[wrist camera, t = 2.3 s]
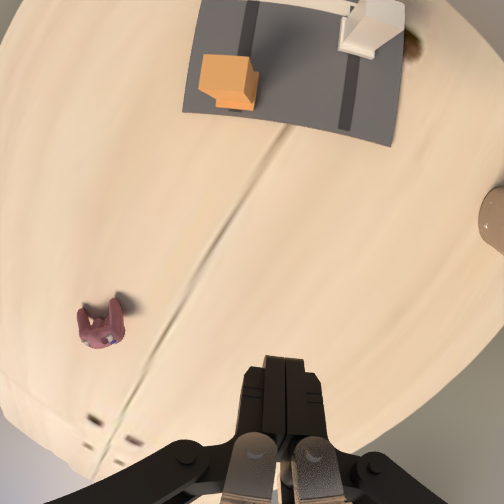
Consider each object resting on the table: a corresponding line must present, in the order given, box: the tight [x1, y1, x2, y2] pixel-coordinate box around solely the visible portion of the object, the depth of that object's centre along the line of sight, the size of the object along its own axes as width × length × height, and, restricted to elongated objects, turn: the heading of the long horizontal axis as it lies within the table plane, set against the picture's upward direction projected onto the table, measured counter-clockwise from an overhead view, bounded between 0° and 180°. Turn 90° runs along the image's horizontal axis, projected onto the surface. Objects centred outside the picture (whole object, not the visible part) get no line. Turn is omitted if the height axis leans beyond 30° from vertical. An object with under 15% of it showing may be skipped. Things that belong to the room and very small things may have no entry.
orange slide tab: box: [198, 54, 259, 111], centre depth 23 cm, size 4×4×10 cm
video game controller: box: [77, 298, 125, 349], centre depth 40 cm, size 10×5×7 cm, turn 111°
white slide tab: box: [338, 0, 405, 60], centre depth 19 cm, size 4×4×10 cm
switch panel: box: [182, 0, 404, 147], centre depth 26 cm, size 24×18×1 cm
